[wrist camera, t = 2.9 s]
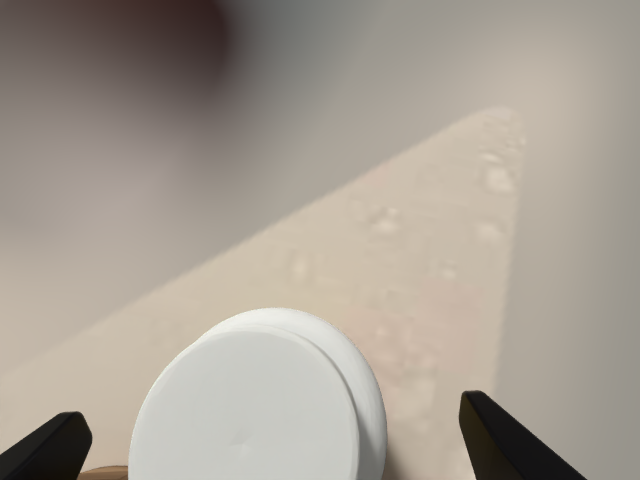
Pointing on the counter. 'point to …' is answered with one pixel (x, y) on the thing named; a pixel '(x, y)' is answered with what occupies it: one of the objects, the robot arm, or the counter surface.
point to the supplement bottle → (263, 406)
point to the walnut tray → (105, 473)
